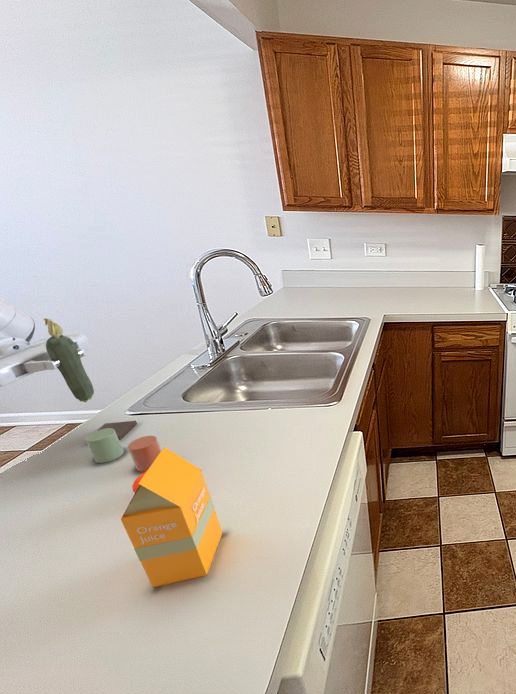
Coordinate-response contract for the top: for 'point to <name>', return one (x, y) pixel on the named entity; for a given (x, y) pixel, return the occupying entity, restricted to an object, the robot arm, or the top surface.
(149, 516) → the orange juice
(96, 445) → the mint green cylinder
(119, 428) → the coaster
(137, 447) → the rust red cylinder
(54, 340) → the vegetable
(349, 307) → the top surface
